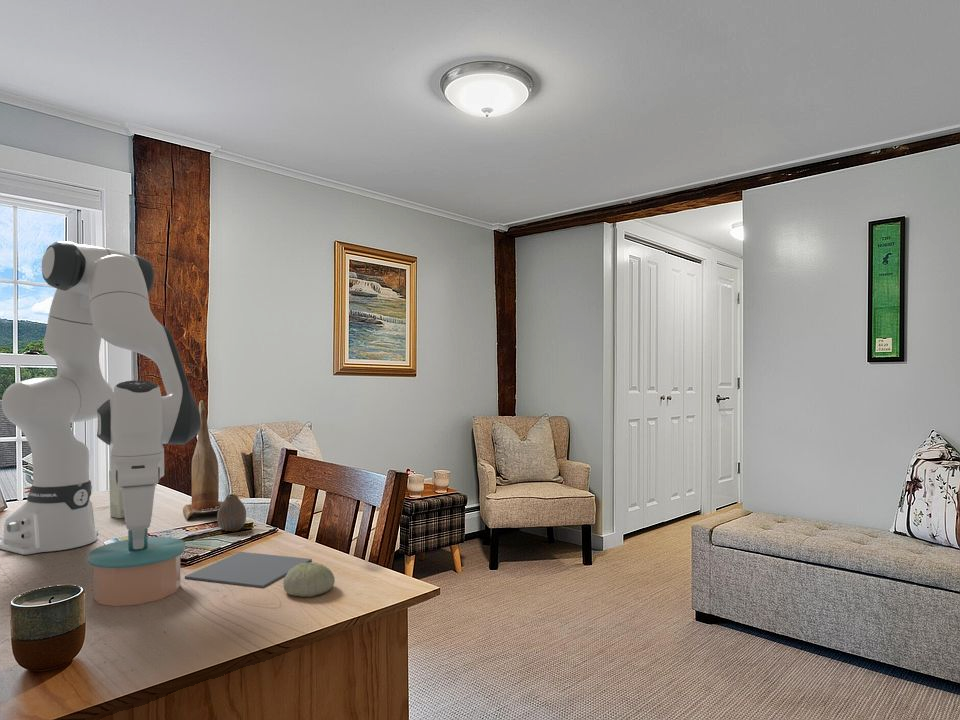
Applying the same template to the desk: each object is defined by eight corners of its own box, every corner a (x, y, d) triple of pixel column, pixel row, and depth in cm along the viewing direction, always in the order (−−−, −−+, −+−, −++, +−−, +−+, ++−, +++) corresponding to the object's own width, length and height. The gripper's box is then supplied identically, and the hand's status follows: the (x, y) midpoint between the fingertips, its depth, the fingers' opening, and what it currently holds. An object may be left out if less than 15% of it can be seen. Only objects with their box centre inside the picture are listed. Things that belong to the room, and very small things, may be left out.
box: (135, 515, 180) (135, 469, 180) (119, 519, 176) (119, 471, 176) (124, 513, 182) (124, 467, 182) (108, 516, 179) (108, 469, 179)
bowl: (76, 600, 117) (76, 561, 117) (137, 576, 130) (137, 541, 130) (138, 609, 113) (138, 569, 113) (195, 583, 126) (195, 546, 126)
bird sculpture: (223, 509, 189) (221, 398, 190) (231, 516, 179) (229, 399, 180) (181, 514, 183) (179, 400, 184) (187, 522, 173) (184, 401, 174)
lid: (66, 563, 116) (66, 537, 116) (137, 539, 132) (137, 516, 131) (138, 571, 112) (138, 545, 112) (203, 545, 127) (203, 522, 127)
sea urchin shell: (311, 593, 115) (289, 556, 118) (290, 618, 118) (268, 582, 121) (348, 578, 123) (326, 544, 126) (326, 602, 126) (305, 568, 129)
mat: (184, 578, 129) (184, 576, 129) (240, 553, 145) (240, 551, 145) (263, 587, 124) (263, 585, 124) (311, 560, 140) (311, 558, 140)
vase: (236, 534, 161) (236, 498, 161) (211, 532, 163) (211, 497, 162) (251, 526, 168) (251, 492, 168) (227, 525, 169) (227, 491, 169)
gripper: (119, 461, 129) (119, 531, 129) (117, 479, 111) (117, 560, 111) (155, 459, 132) (155, 527, 132) (158, 475, 114) (159, 554, 114)
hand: (138, 542), depth 122 cm, fingers open, 6 cm apart
